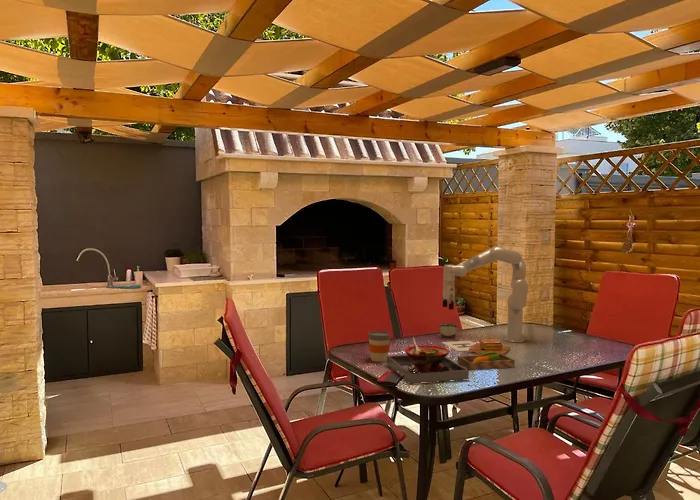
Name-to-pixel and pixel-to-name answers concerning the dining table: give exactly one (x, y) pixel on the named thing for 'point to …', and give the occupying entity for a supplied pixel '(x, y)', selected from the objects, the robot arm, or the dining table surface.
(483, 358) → the corn
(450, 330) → the food container
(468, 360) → the tray
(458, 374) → the dark grey tray
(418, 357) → the stew
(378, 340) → the reusable coffee cup
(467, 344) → the letter board
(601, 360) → the dining table surface
